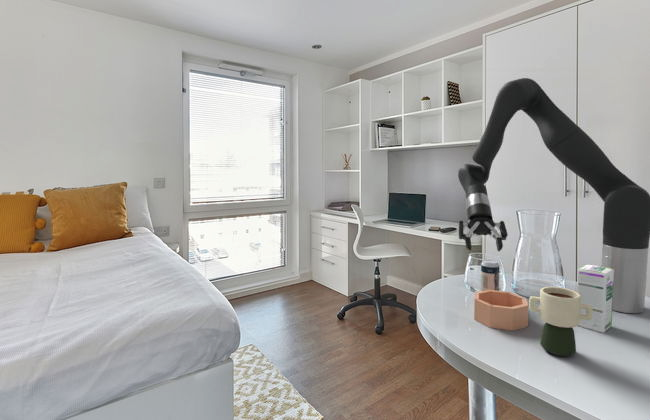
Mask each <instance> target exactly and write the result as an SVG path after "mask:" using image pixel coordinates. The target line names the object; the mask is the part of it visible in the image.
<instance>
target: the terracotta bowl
mask: <svg viewBox="0 0 650 420" xmlns="http://www.w3.org/2000/svg"><path fill="white" fill-rule="evenodd" d="M473 317H474V318H473V319H474V320H475V321H476V322H478V323H481V324H482V325H484V326H486V327H488V328H490V329H491V328H492V329H499V330H507V331H516V330H520V329H525V328H527V327H528V324H529V319H528V318H529V302H528V300H527V298H526V297H524V296H521V295H519V294H516V293H513V292H512V291H511V292H510V291H504V290H499V291H496V290H485V291H481V290H480V291H476V292H474V316H473Z"/></svg>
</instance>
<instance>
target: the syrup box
mask: <svg viewBox="0 0 650 420" xmlns="http://www.w3.org/2000/svg"><path fill="white" fill-rule="evenodd" d="M576 278H577V280H576V292H578V293H579V294H580V295H581V303H582V304H589V305H591V306H592V308H593V311H592V319H591V320H584V319H580V322H579V324H578V326H577V327H581V328H584V329H587V330H592V331H595V332H598V333H602V334H604V333H605V332H606V331H608V329H610V328H611V327H612V326H613V324H612V323H613V322H612V321H613V310H612V305H613V282H614V269H612V268H608V267H603V266H600V265H596V264H595V265H594V264H585V265H584V266H581V267H580V268H578V269H577V277H576ZM586 310H587V309H585V308H581V313H580V314H581V315H586Z"/></svg>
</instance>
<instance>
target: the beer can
mask: <svg viewBox="0 0 650 420" xmlns="http://www.w3.org/2000/svg"><path fill="white" fill-rule="evenodd" d="M485 290H496V291H500V264H499V262H498V261H497V260H494V259H483V260H482V262H481V263H480V291H485Z"/></svg>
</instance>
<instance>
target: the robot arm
mask: <svg viewBox="0 0 650 420" xmlns="http://www.w3.org/2000/svg"><path fill="white" fill-rule="evenodd" d="M519 111H522V112H524V113H525V114H526V115H527V116H528V117H529V118H530V119H531V120H532V121H533V122H534V123H535V125H536V127H538V130H539V134H540V136H541V140H542V142H543V144H544V146H545V147H546V149H547V150H549V152H550V153H551V154H552V155H553V156H554V157H555V158H556V159H557V161H559V162H560V163H561V164H562V165H564V166H565V167H566V168H567V169H568V170H570V171H571V173H574V174H575V175H577V176H578V177H579V178H581V179H582V180H584V182H586V183H587V184H588V185H589V186H590V187H591V188H592V189H593V190H594V192H596V193H597V195H598V196H599V198H600V199H601V200H602V201H603V202H604V203H603V217H602V218H603V219H602V221H603V222H602V249H601V250H602V251H601V263H600V264H601V266H603V267H608V268H612V269H614V282H613V305H612V311H616V312H620V313H623V314H624V313H625V314H641V313H643V312H644V309H645V304H646V302H645V301H646V300H645V299H646V288H647V273H648V272H647V271H648V261H649V260H648V259H649V258H648V257H649V247H650V246H649V244H650V193H649V192H648V191H647V190H646V189H644V188H643V187H641V186H640V185H638V184H637V183H636V182H634V181H633V180H632V179H631V178H629V177H628V176H627V175H625V174H624V172H621V171H620V170H619V169H618V168H617V167H616V166H615V165H614V163H612V162H611V160H610V159H609V157H608V156H607V155H606V154H605V152H604V151H603V149H601V147H600V146H599V145H597V143H596V142H595V141H594V140H593V139H592V137H590V136H589V135H588V134H587V133H586V132H585V131H584V130H583V129H582V128H581V127H580V126H578V125H577V124H576V123H575V122H574V121H573V120H572V119H571V118H570V117H569V116H568V115H567V114H566V113H565V112H564V111H563V110H561V109H560V108H559V107H558V106H557V105H556V104H555V103H554V101H553V100H552V99H551V98H550V97H549V96H548V95H547V93H546V92H545V91H544V90H543V88H542V87H541V86H540V84H539V83H537V82H536V81H535V80H534V79H531V78H528V77H523V78H517V79H514V80H510V81H508V82H506V83H504V84H503V85H502V86H501V87H500V88H499V90H498V92H497V94H496V97H495V100H494V103H493V107H492V109H491V113H490V115H489V117H488V118H489V119H488V121H487V125H486V127H485V130H484V132H483V134H482V135H481V138H480V140H479V142H478V144H477V146H476V147H475V150H474V151H473V153H472V156H471V157H472V158H471V159H472V160H473V162H474V163H476V164H477V165H474V164H471V163H465V164H463V165H461V166H460V167H459V169H458V172H457V176H458V181H459V183H460V185H461V187H462V189H463V191H464V192H465V199H466V200H465V201H466V203H465V204H466V205H465V207H466V215H467V222H464V220H459V222H458V239H459V240H464V242H465V248H466V249H467V250H468V251H471V250H472V241H471V240H472V239H471V238H473V237H474V235H476V236H481V235H482V236H489V237H490V238H492V239H494V241H495V246H496V250H497V252H501V250H502V249H503V247H504V244H503V243H504V242H503V241H506V240H507V238H508V231H507V227H506V223H505V221H503V220H500V221H499V222H494V220H493V215H492V214H493V213H492V208H491V203H490V199H489V195H488V190H487V187H486V185H485V184H486V183H487V182H489V181H488V180H489V178H490V174H491V169H492V164H493V163H494V160H495V158H496V156H497V155H498V154H499V151H500V149H501V148H502V145H503V142H504V136H505V131H506V129H507V126H508V124H509V123H510V121H511V120H512V118H513V117H514V116H515V114H516V113H517V112H519ZM466 228H468V229H469V230H468V231H467V233H464V229H466ZM496 228H497V229H496ZM497 230H499V232H498V231H497Z"/></svg>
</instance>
